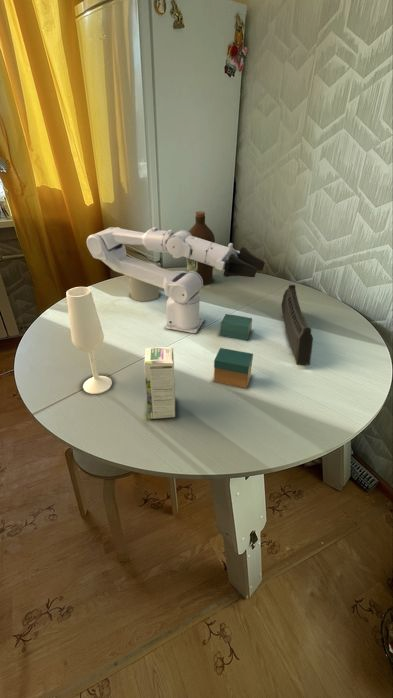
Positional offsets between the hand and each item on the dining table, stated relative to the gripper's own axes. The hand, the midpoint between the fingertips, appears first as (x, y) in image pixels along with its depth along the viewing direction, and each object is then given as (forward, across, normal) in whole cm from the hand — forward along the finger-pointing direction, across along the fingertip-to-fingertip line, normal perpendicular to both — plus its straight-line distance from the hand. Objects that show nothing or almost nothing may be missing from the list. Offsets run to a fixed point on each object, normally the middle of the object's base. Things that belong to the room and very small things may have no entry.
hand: (259, 269), depth 88 cm
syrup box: (-6, -32, +27) cm, 42 cm away
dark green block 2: (-2, +5, +21) cm, 22 cm away
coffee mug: (-41, +18, +26) cm, 51 cm away
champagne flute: (-24, -30, +30) cm, 49 cm away
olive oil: (-28, +36, +22) cm, 50 cm away
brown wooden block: (+4, -16, +23) cm, 28 cm away
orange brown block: (+4, -16, +21) cm, 27 cm away
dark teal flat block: (+3, -16, +19) cm, 25 cm away
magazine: (+13, +9, +18) cm, 24 cm away
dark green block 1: (-3, +4, +19) cm, 20 cm away
